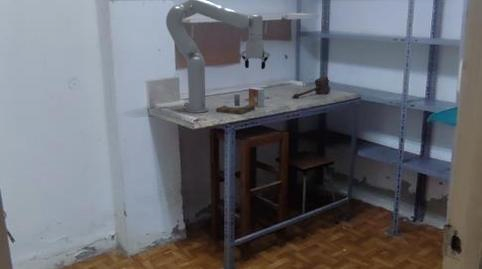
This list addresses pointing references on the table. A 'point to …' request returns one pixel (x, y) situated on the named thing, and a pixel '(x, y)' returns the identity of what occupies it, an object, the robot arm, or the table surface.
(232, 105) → the round post pedestal
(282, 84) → the table surface
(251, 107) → the stand base
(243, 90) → the table surface
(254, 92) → the small box
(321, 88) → the hammer
